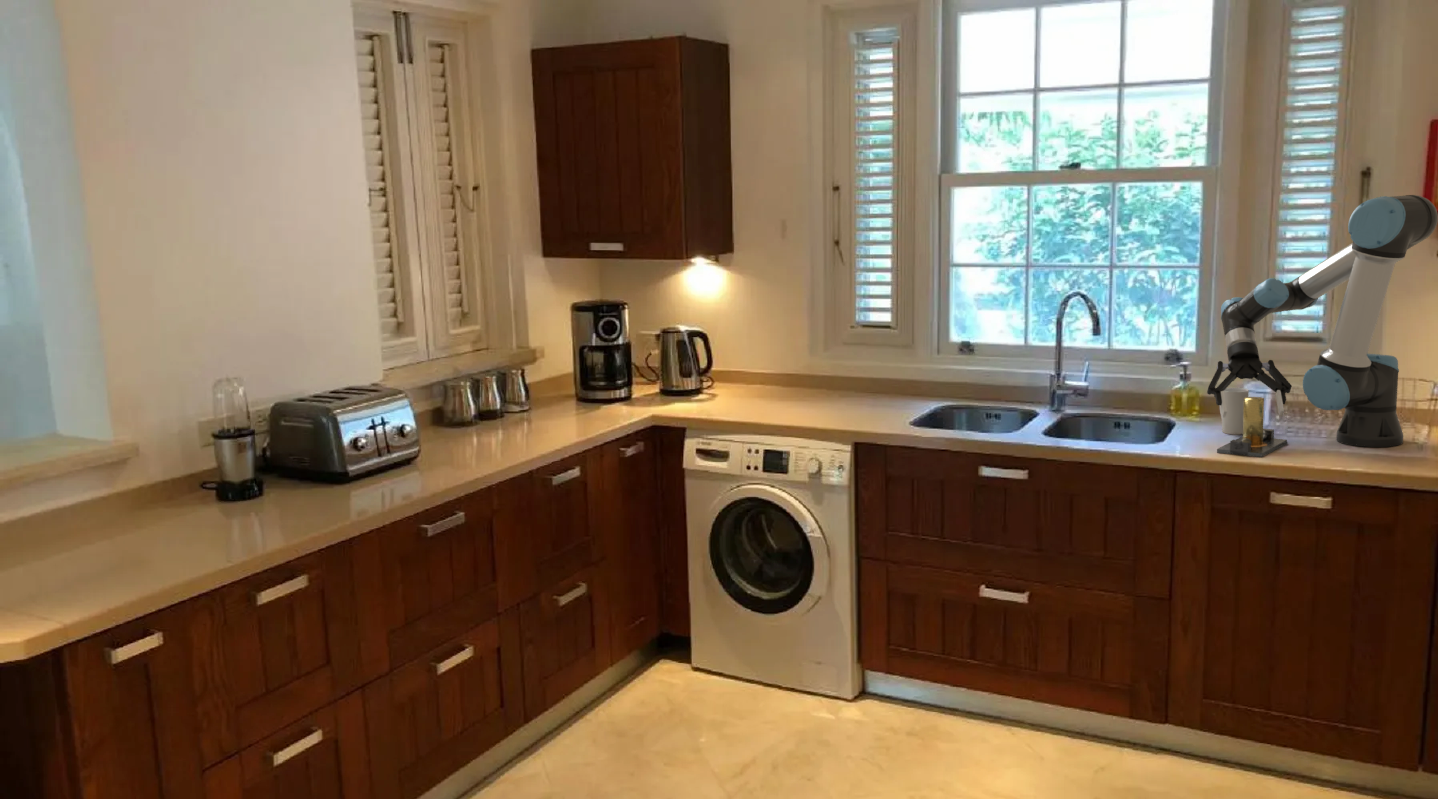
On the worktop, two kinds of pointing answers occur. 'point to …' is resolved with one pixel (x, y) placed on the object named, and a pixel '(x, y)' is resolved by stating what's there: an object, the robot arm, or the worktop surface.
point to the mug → (1234, 410)
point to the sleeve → (1253, 419)
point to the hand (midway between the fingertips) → (1253, 414)
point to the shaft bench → (1246, 449)
